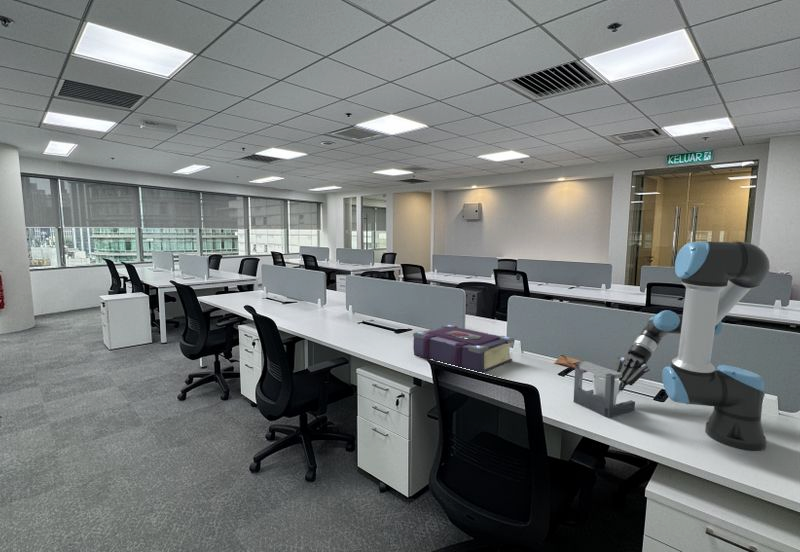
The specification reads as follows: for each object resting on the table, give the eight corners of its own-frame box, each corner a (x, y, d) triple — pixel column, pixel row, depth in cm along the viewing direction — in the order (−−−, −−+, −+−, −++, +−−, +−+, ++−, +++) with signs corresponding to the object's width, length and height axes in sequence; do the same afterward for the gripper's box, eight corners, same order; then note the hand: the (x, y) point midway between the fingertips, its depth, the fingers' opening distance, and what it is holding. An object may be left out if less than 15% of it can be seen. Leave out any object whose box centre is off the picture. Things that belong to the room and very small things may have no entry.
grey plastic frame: (599, 395, 161) (601, 358, 159) (635, 410, 147) (637, 370, 145) (573, 401, 155) (575, 363, 153) (608, 418, 141) (611, 375, 139)
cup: (590, 408, 149) (592, 378, 147) (592, 400, 156) (593, 371, 155) (617, 413, 144) (619, 382, 143) (617, 405, 152) (619, 375, 151)
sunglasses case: (551, 363, 203) (555, 351, 204) (557, 367, 207) (561, 356, 208) (585, 372, 189) (589, 360, 190) (591, 377, 193) (595, 364, 194)
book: (477, 376, 184) (478, 347, 182) (410, 355, 216) (410, 331, 214) (513, 361, 207) (514, 335, 205) (447, 344, 239) (448, 322, 238)
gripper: (662, 359, 153) (632, 407, 148) (630, 350, 165) (601, 394, 160) (654, 348, 151) (623, 396, 145) (623, 340, 162) (593, 384, 157)
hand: (612, 395), depth 153 cm, fingers closed
